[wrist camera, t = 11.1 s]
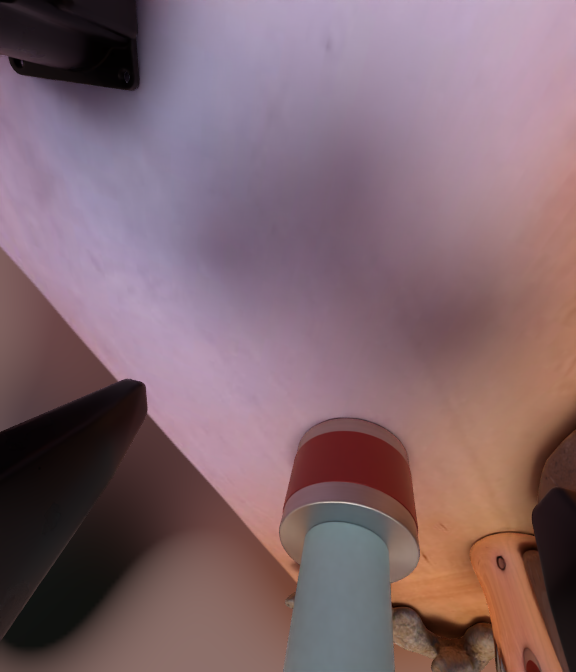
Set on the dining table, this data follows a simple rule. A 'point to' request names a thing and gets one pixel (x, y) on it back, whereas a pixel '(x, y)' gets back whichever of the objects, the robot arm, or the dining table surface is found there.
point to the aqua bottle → (342, 603)
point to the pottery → (560, 467)
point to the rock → (439, 642)
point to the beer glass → (517, 604)
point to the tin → (353, 489)
